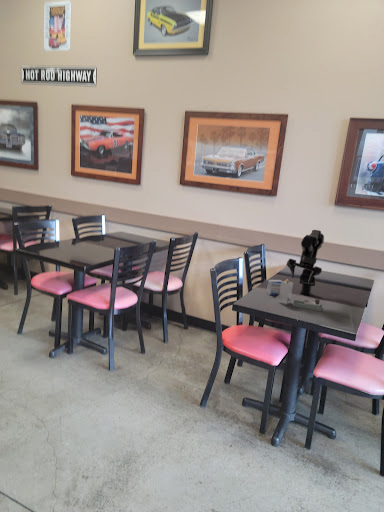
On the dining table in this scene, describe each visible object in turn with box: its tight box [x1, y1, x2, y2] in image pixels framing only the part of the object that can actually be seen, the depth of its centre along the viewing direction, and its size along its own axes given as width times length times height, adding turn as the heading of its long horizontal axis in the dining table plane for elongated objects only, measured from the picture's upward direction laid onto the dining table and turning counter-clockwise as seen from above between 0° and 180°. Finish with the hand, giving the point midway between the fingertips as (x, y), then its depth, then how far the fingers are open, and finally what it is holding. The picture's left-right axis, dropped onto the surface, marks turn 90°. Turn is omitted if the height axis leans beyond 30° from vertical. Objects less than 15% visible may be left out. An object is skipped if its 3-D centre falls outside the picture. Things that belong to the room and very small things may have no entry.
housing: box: [277, 278, 294, 305], centre depth 208 cm, size 5×5×14 cm
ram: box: [304, 298, 321, 307], centre depth 205 cm, size 4×8×5 cm, turn 70°
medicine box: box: [266, 279, 282, 296], centre depth 227 cm, size 8×4×9 cm, turn 105°
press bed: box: [292, 299, 323, 312], centre depth 212 cm, size 17×25×3 cm
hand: (300, 280), depth 208 cm, fingers open, 9 cm apart
